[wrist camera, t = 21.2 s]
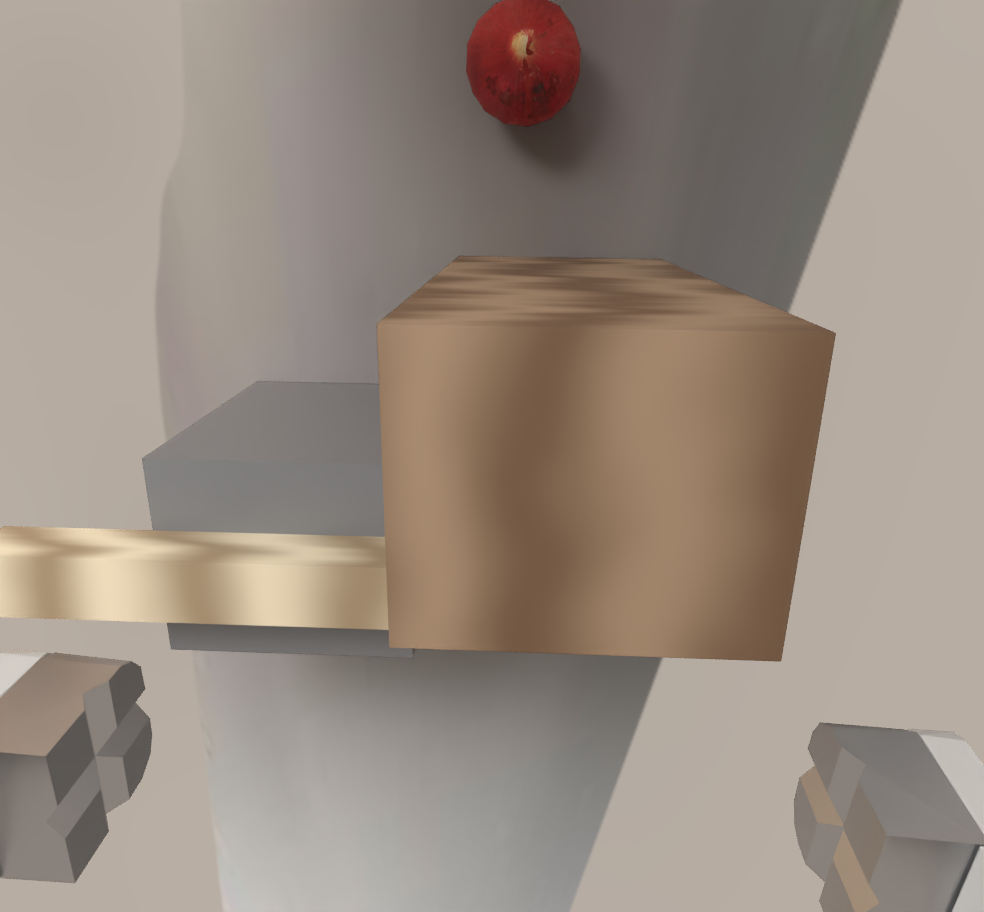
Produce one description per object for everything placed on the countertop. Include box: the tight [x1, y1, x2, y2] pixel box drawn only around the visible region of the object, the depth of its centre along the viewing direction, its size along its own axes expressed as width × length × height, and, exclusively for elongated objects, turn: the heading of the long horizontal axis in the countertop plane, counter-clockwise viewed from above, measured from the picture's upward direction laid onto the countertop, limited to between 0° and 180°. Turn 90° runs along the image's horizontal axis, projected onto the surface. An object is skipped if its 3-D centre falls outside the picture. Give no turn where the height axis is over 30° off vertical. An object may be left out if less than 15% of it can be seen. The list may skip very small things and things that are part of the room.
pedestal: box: [377, 256, 836, 661], centre depth 33 cm, size 12×10×26 cm
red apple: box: [466, 0, 581, 127], centre depth 37 cm, size 6×6×8 cm
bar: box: [0, 526, 389, 630], centre depth 33 cm, size 20×3×3 cm, turn 89°
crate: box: [142, 381, 415, 658], centre depth 41 cm, size 12×10×15 cm
